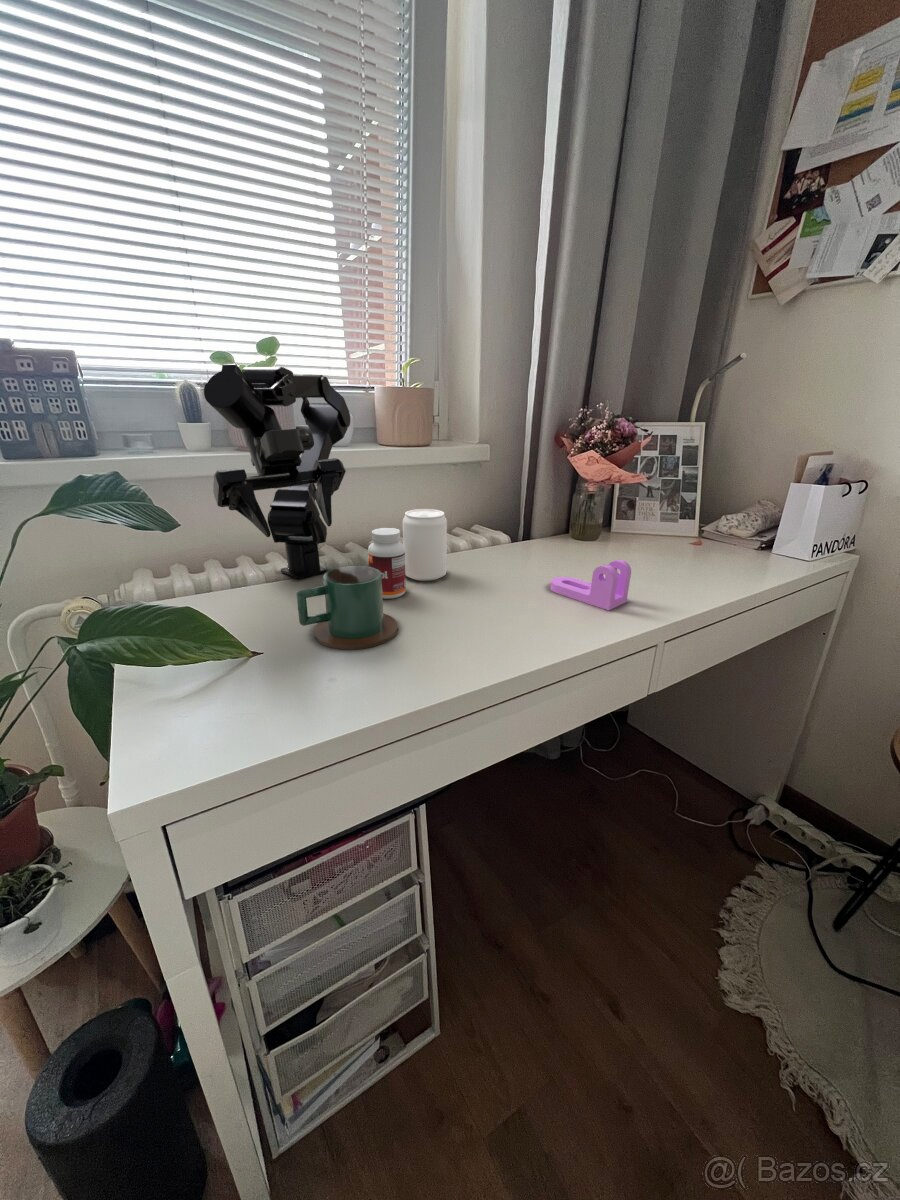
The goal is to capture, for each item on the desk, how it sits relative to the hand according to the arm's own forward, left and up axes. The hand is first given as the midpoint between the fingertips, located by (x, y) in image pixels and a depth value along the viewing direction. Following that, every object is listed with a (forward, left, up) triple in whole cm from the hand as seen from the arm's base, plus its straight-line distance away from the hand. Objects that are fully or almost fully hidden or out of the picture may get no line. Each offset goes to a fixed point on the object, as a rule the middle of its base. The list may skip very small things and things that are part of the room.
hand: (300, 530), depth 74 cm
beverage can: (0, +25, -14) cm, 29 cm away
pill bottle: (+2, +14, -14) cm, 20 cm away
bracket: (+27, +37, -14) cm, 48 cm away
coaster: (+10, +1, -13) cm, 17 cm away
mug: (+10, -1, -13) cm, 16 cm away
